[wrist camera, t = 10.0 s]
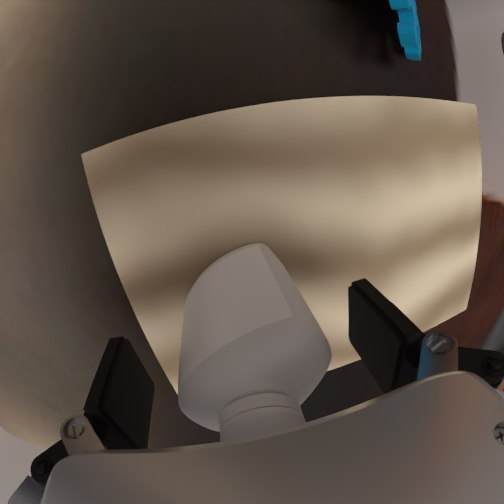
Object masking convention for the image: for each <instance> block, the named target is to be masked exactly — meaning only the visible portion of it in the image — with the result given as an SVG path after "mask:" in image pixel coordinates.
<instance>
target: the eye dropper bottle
mask: <svg viewBox="0 0 504 504" xmlns="http://www.w3.org/2000/svg"><path fill="white" fill-rule="evenodd" d="M331 358H332V352H331V348H330V345H329V343H328V340H327V338H326V336H325V335H324V333H323V331H322V329H321V327H320V326H319V324H318V322H317V320H316V319H315V317H314V315H313V314H312V312H311V310H310V308H309V307H308V305H307V303H306V302H305V300H304V298H303V297H302V295H301V293H300V292H299V290H298V288H297V287H296V285H295V283H294V282H293V280H292V278H291V277H290V275H289V274H288V272H287V270H286V269H285V267H284V265H283V264H282V263H281V262H280V260H279V259H278V258H277V257H276V255H275V254H274V253H273V252H272V251H271V250H270V249H269V247H268V246H266V245H264V244H263V243H252V244H248V245H245V246H242V247H240V248H237V249H235V250H233V251H231V252H229V253H227V254H225V255H224V256H222V257H221V258H219V259H218V260H216V261H215V262H214V263H212V264H211V265H210V266H209V267H208V268H207V269H206V270H205V271H204V272H203V273H202V274H201V275H200V276H199V278H198V279H197V280H196V282H195V283H194V285H193V286H192V288H191V290H190V291H189V293H188V295H187V298H186V301H185V306H184V315H183V324H182V335H181V346H180V359H179V373H178V400H179V406H180V409H181V410H182V412H183V413H184V414H185V415H186V416H187V417H188V418H190V419H191V420H193V421H194V422H196V423H198V424H200V425H202V426H204V427H206V428H208V429H211V430H214V431H219V432H220V439H221V442H223V441H229V440H235V439H240V438H246V437H251V436H255V435H260V434H265V433H269V432H273V431H277V430H281V429H285V428H289V427H293V426H296V425H300V424H303V423H306V422H305V419H304V416H303V413H302V411H301V408H300V405H301V404H302V403H303V402H304V401H305V400H306V398H307V397H308V396H309V395H310V394H311V393H312V392H313V390H314V389H315V388H316V386H317V385H318V384H319V382H320V381H321V379H322V378H323V376H324V374H325V373H326V371H327V369H328V367H329V364H330V361H331Z"/></svg>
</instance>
